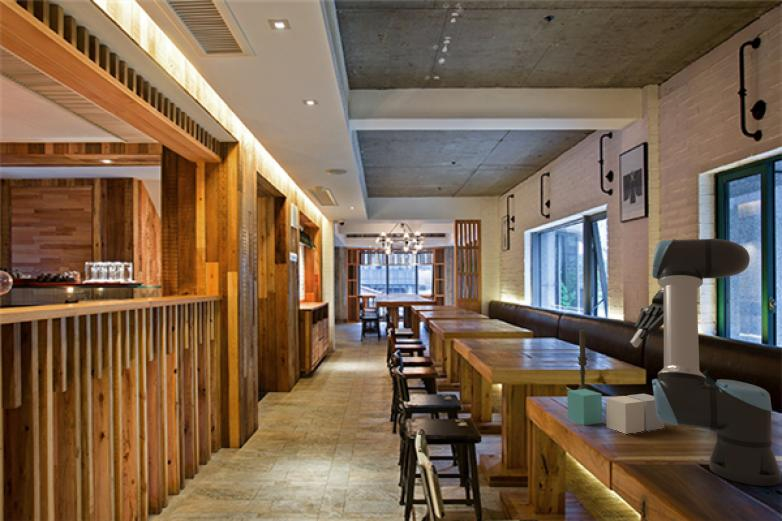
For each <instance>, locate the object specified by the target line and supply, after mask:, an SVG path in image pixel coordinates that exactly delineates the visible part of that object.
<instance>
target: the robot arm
mask: <svg viewBox="0 0 782 521" xmlns="http://www.w3.org/2000/svg"><path fill="white" fill-rule="evenodd" d="M750 258H751V257H750V254H749V252H748V250H747V249H746V248H745V247H744V246H743V245H742V244H739V243H737V242H734V241H732V240H728V239H722V238H721V239H720V238H700V239H699V238H698V239H697V238H696V239H689V238H688V239H676V238H673V239H667V240H665V239H664V240H661V241H659V242H658V243H656V246H655V249H654V255H653V260H652V261H653V264H652V272H651V273H652V274H651V275H652V278H653V279H655V280H657V284H658V286H659V287H660V288H659V289H658V291H657V293H655V295H654V296H653V298H652V299H651V304H650V305H649V306H648V307H647V308H644V307H642V308H640V310H639V311H640V313H639V315H638V318H637V320H636V322H635V324H634V327H635V329H636V331H635V333H634V334H633V337H632V338H631V340H629V343H630V344H631V345H632V346H633V347H634V348H638V347H639V346H640V344H641V343H642V342H643V341H644V340H645V339H646V338H647V336H648V335H650V334H651V333H652V334H655V333H656V332H657V331H658V330H659V329H660V328H661V327H662V326H663V368H662V369H661V370H660V371H658V373H657V378H655V379H652V380H651V383H652V391H653V392H652V393H653V396H654V399H655V405H656V412H657V417H658V419H659V420H660V421H661V422H663V423H664V424H669V425H675V426H677V427H679V426H681V427H689V428H690V427H691V428H697V429H698V428H699V429H704V430H713V431H716V442H715V444H714V446H713V449H712V452H711V454H710V458H709V470H710V471H711V472H712V473H714V474H715V475H716V476H719V477H721V478H724V479H726V480H729V481H732V482H736V483H740V484H745V485H752V486H762V487H763V486H765V487H769V486H770V487H771V486H777V485H780V484H781V483H782V472H781V468H780V466H779V463H778V461H777V458H776V456H775V453H774V451H773V443H772V441H773V440H772V436H773V435H772V412H773V408H772V402H771V395H770V393H769V392H768V391H767V390H766V389H765V388H762V387H760V386H757V385H755V384H750V383H747V382H742V381H738V380H733V379H724V378H723V379H716V382H715V383H716V385H709V384H706V377H705V376H704V375H703V374H702V373H703V372H701V370H700V354H699V352H700V351H699V350H700V349H699V348H700V347H699V317H698V316H699V315H698V314H699V312H698V289H699V288H700V287H701V286H702V285H703V284H704V280H705V279H722V278H728V277H732V276H736V275H739V274H741V273H743V272H744V271H745V270H746V269H747V268H748V266H749V265H750V261H751V259H750ZM703 279H704V280H703Z"/></svg>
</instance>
